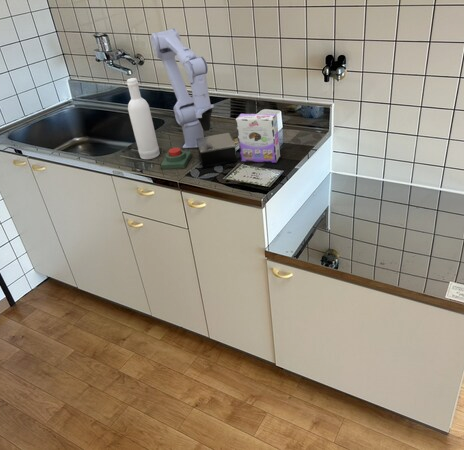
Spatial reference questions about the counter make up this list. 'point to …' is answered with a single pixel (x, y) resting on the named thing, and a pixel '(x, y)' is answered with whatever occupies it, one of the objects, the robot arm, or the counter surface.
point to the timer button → (174, 152)
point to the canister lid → (215, 142)
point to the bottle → (142, 122)
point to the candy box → (258, 137)
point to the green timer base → (176, 160)
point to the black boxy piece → (218, 157)
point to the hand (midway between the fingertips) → (206, 130)
